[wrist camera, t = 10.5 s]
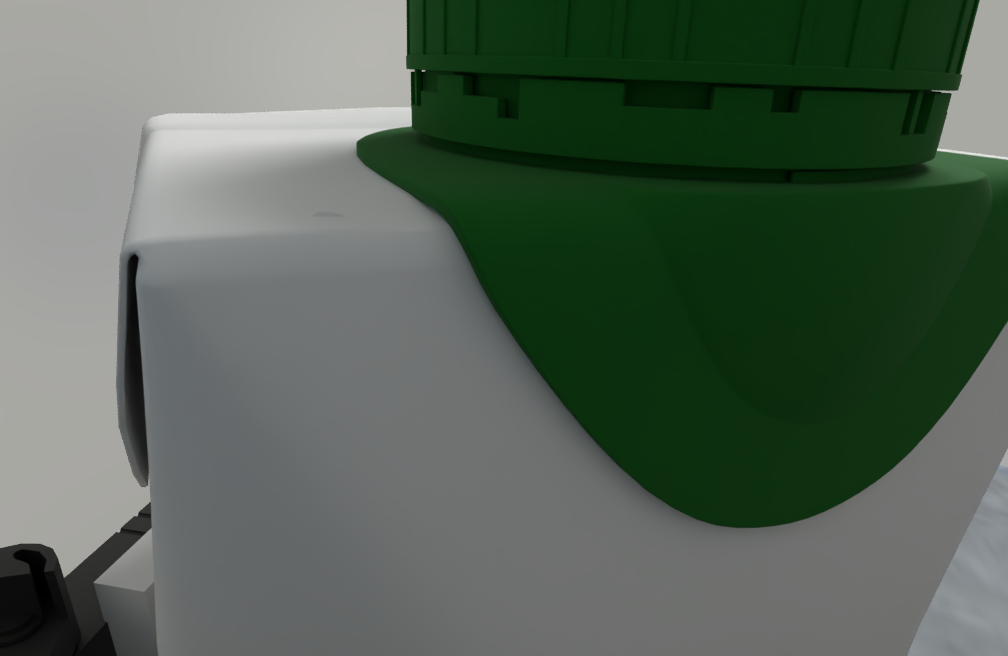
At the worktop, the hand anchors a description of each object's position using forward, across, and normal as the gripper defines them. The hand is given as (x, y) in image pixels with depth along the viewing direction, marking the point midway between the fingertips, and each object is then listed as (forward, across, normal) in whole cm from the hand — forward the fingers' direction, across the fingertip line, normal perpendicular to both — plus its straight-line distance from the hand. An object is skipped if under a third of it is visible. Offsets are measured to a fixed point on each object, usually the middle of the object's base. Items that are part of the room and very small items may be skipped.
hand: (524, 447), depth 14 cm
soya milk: (-5, 0, -11) cm, 12 cm away
